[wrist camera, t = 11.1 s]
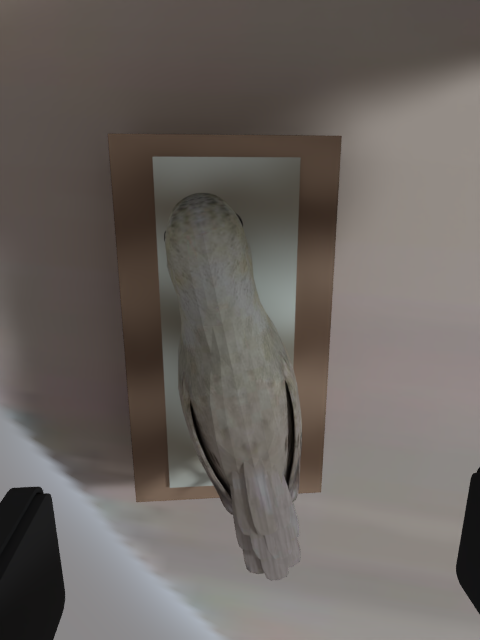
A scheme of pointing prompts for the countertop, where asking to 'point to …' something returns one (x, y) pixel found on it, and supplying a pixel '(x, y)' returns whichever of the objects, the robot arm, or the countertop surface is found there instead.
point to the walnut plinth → (268, 271)
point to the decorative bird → (236, 382)
